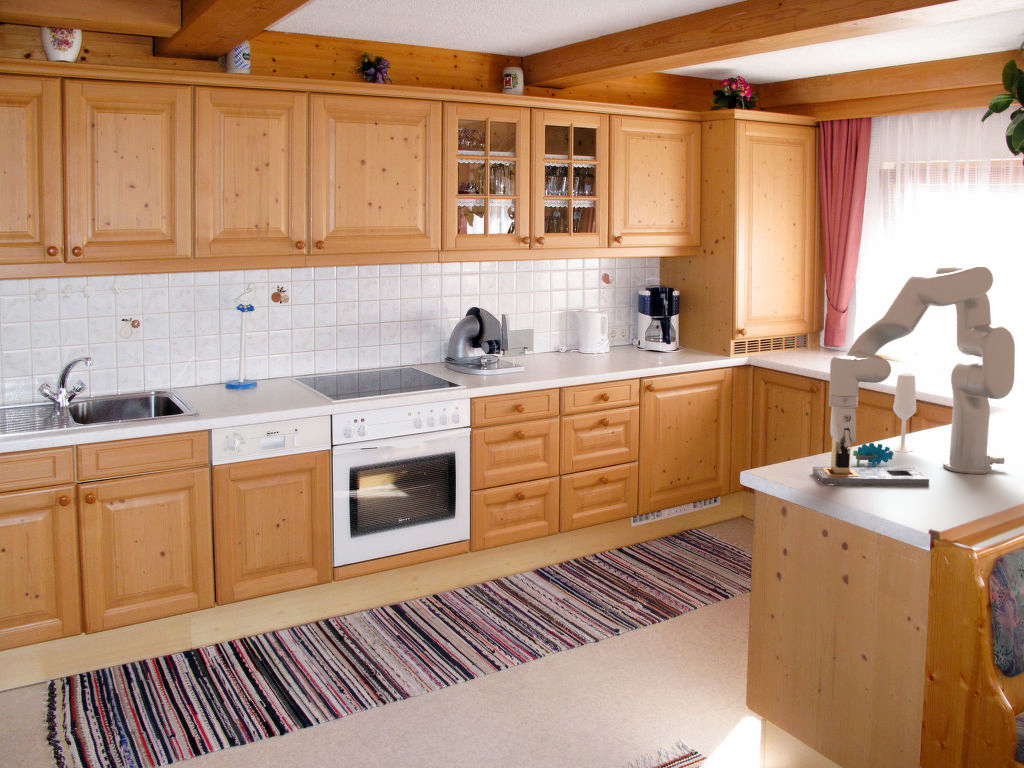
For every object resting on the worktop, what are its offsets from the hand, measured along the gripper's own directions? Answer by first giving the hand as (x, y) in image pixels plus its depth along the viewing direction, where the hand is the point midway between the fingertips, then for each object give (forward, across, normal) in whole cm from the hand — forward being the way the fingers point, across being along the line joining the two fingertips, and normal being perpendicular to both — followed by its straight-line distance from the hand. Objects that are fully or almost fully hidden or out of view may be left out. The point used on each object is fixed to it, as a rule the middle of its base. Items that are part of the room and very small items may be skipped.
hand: (840, 464), depth 257 cm
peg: (+4, 0, 0) cm, 4 cm away
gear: (+5, +16, -13) cm, 21 cm away
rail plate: (+4, 0, -8) cm, 9 cm away
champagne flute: (+5, +36, -28) cm, 46 cm away
